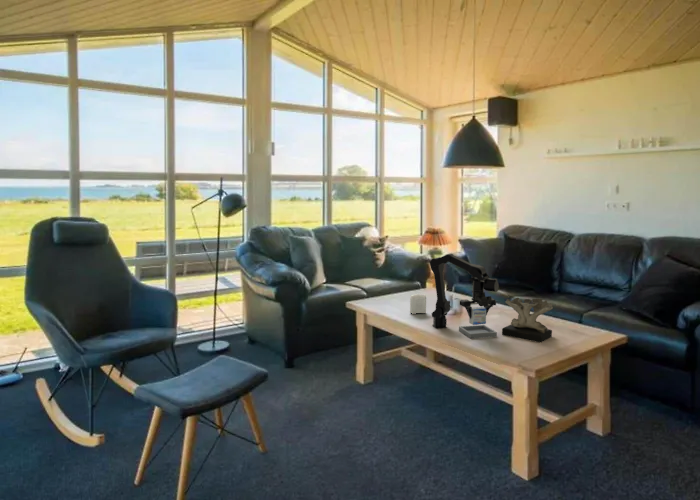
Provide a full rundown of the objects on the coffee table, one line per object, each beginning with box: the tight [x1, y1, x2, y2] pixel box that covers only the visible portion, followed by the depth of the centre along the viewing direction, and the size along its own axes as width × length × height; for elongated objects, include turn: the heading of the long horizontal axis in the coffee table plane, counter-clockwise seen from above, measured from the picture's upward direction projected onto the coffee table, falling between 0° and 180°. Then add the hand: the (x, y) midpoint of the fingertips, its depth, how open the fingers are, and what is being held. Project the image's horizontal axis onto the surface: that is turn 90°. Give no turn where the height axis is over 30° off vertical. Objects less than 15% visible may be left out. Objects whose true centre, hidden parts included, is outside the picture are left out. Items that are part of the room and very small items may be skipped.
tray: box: [458, 324, 498, 340], centre depth 278 cm, size 15×15×2 cm
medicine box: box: [468, 306, 487, 326], centre depth 277 cm, size 8×4×9 cm, turn 105°
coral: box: [501, 297, 554, 343], centre depth 268 cm, size 25×20×22 cm
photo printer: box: [409, 293, 427, 315], centre depth 322 cm, size 10×4×12 cm, turn 98°
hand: (477, 318), depth 277 cm, fingers closed on medicine box, 8 cm apart
